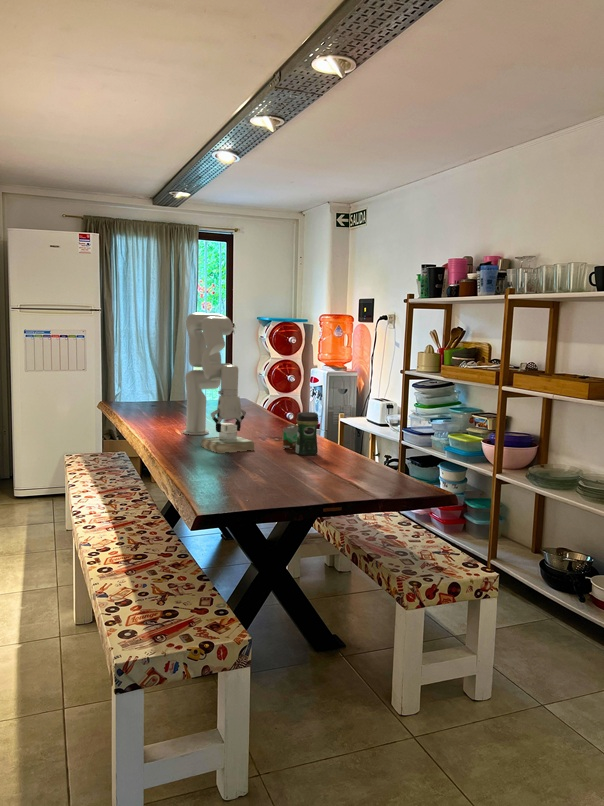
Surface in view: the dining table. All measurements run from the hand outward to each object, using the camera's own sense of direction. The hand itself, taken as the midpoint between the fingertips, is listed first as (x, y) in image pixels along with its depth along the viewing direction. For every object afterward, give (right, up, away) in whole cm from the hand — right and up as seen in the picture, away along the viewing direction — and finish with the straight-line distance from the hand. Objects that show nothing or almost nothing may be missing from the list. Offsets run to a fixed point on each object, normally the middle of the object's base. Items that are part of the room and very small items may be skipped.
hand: (228, 431), depth 292 cm
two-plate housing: (0, -4, 0) cm, 4 cm away
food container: (+28, -8, +9) cm, 31 cm away
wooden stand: (0, -8, +1) cm, 8 cm away
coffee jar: (+35, -10, -3) cm, 36 cm away
